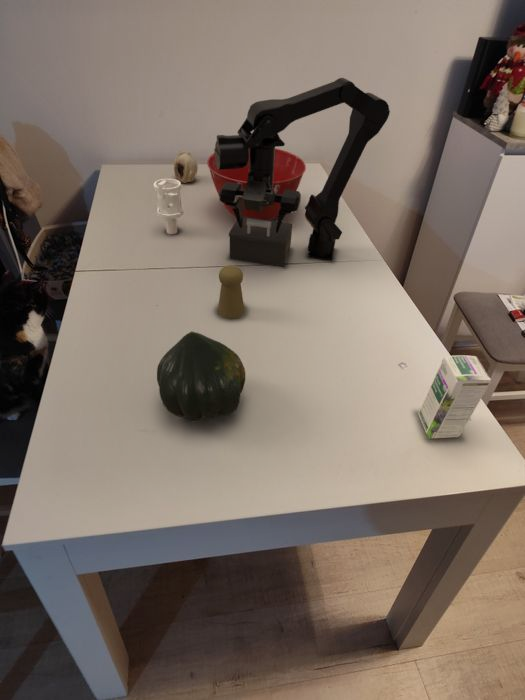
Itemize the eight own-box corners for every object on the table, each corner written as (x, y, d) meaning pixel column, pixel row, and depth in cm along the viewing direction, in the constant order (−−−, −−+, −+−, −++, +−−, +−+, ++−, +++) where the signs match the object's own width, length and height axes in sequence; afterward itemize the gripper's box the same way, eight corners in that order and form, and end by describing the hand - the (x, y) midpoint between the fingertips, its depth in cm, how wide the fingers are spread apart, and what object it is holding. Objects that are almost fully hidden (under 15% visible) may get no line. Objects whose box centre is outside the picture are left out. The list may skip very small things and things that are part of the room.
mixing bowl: (319, 220, 136) (326, 169, 126) (240, 243, 124) (241, 189, 113) (266, 187, 153) (269, 140, 143) (192, 205, 140) (189, 154, 130)
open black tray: (283, 267, 115) (286, 243, 111) (229, 258, 117) (229, 235, 113) (290, 249, 122) (292, 226, 118) (238, 241, 124) (238, 219, 120)
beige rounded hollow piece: (177, 183, 158) (171, 153, 154) (201, 179, 158) (195, 149, 154) (174, 185, 149) (167, 153, 145) (199, 181, 149) (193, 149, 145)
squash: (229, 433, 69) (241, 336, 68) (137, 419, 70) (148, 325, 70) (244, 419, 83) (254, 339, 83) (168, 408, 85) (177, 330, 84)
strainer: (154, 234, 125) (147, 181, 115) (167, 223, 130) (162, 172, 120) (176, 239, 124) (171, 186, 114) (189, 229, 128) (185, 177, 118)
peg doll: (240, 320, 98) (241, 278, 91) (214, 316, 99) (212, 274, 91) (247, 305, 102) (248, 263, 95) (221, 301, 103) (220, 259, 96)
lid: (285, 245, 110) (286, 227, 107) (228, 236, 112) (228, 219, 109) (292, 226, 118) (293, 209, 115) (238, 218, 120) (239, 202, 117)
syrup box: (416, 413, 80) (441, 354, 71) (447, 412, 81) (477, 354, 71) (427, 439, 76) (456, 380, 66) (460, 438, 77) (493, 379, 67)
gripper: (211, 174, 96) (213, 239, 106) (296, 184, 93) (290, 250, 104) (225, 156, 104) (226, 219, 114) (304, 166, 102) (297, 229, 112)
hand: (259, 229), depth 111 cm, fingers open, 9 cm apart
